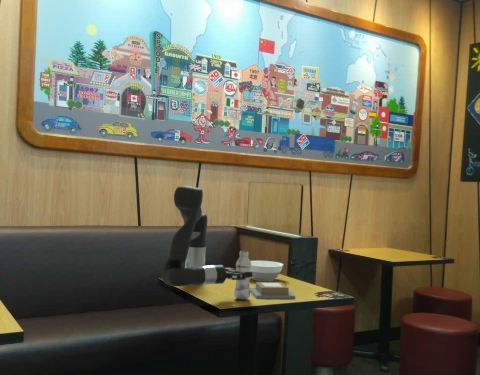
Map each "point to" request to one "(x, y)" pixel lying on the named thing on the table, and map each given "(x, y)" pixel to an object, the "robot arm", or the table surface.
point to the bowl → (265, 270)
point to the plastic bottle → (241, 285)
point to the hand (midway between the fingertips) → (246, 272)
